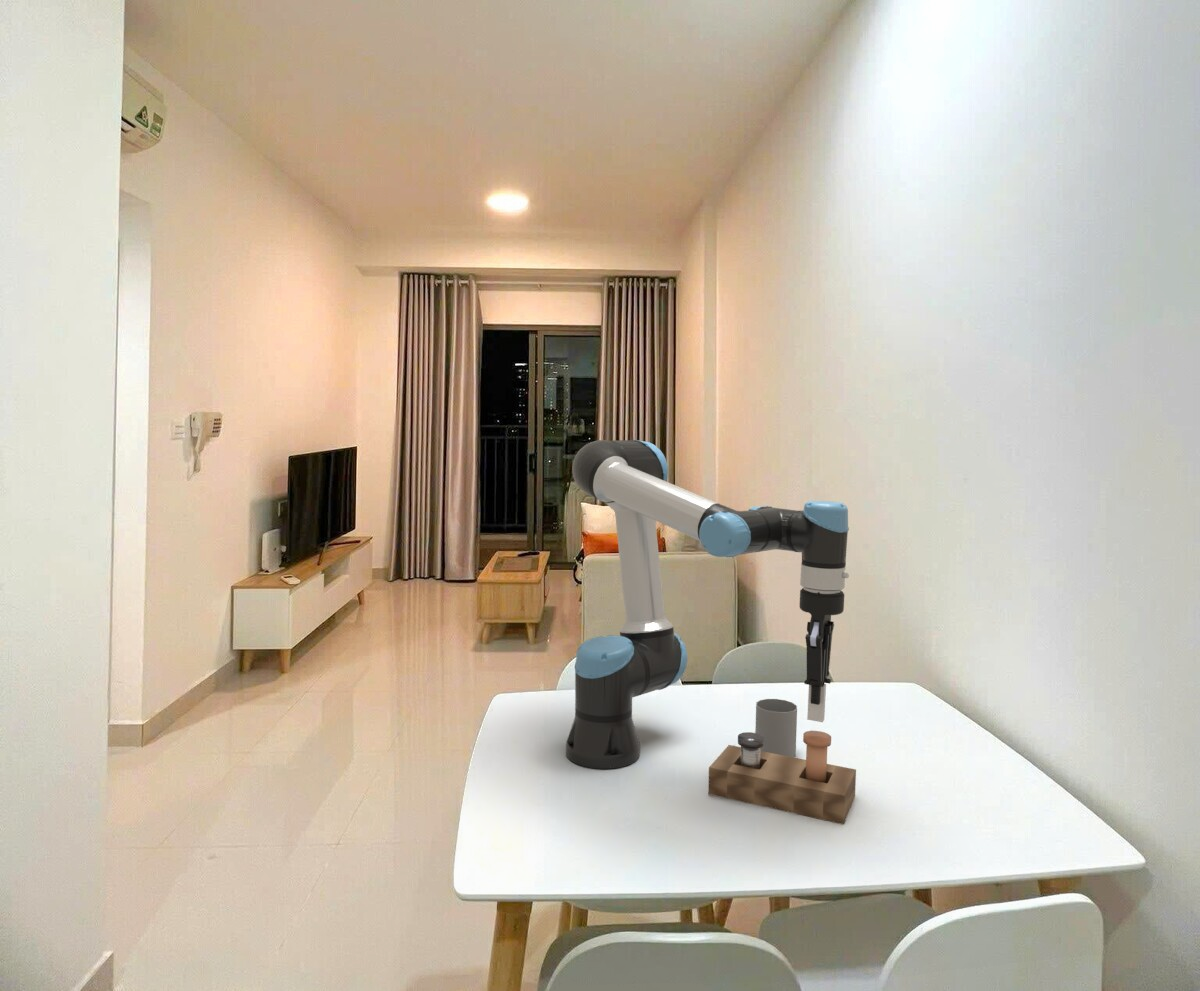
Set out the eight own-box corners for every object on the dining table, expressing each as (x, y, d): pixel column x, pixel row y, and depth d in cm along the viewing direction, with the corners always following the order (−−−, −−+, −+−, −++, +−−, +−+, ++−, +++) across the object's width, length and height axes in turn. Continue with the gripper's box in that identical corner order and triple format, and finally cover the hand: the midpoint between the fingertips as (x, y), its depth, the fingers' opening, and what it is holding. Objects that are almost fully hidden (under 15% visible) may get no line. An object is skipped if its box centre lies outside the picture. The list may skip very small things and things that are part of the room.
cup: (796, 762, 158) (797, 714, 158) (754, 758, 160) (756, 710, 159) (794, 746, 167) (796, 700, 166) (755, 743, 168) (756, 697, 167)
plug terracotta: (799, 785, 140) (800, 737, 139) (805, 775, 144) (806, 728, 143) (826, 791, 137) (828, 742, 137) (831, 780, 142) (833, 733, 141)
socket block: (708, 793, 144) (708, 767, 143) (728, 769, 154) (728, 744, 154) (843, 824, 133) (844, 795, 133) (855, 796, 144) (856, 769, 143)
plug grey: (733, 785, 145) (734, 739, 145) (740, 775, 149) (742, 730, 149) (758, 790, 143) (760, 743, 142) (765, 780, 147) (767, 735, 147)
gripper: (837, 598, 131) (830, 736, 133) (850, 585, 142) (843, 712, 144) (792, 593, 134) (786, 727, 136) (808, 580, 146) (802, 704, 148)
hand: (815, 719), depth 140 cm, fingers closed
